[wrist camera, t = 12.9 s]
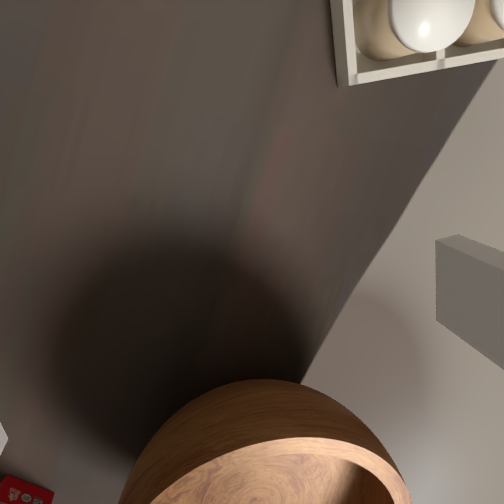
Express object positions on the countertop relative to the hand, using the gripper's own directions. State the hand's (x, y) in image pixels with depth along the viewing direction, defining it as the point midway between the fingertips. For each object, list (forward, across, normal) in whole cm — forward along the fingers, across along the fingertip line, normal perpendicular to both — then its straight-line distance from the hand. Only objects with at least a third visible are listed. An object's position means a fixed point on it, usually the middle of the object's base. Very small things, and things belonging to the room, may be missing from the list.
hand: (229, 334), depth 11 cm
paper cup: (+26, +20, +10) cm, 35 cm away
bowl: (+27, 0, -28) cm, 39 cm away
